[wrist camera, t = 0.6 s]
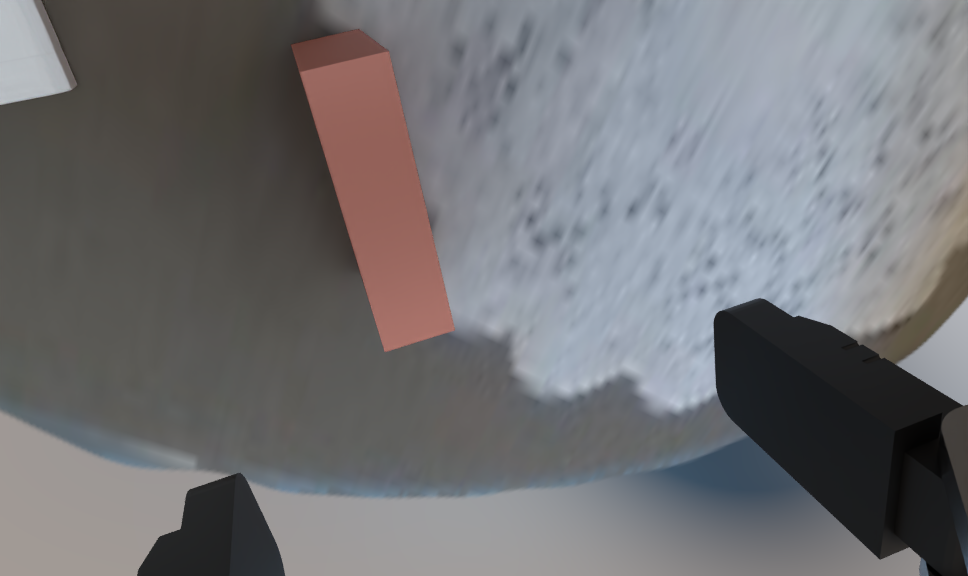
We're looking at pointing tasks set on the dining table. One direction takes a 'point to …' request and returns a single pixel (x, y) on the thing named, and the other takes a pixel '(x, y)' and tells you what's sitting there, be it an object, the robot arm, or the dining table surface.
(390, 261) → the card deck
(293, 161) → the dining table surface
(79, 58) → the dining table surface
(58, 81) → the external hard drive
